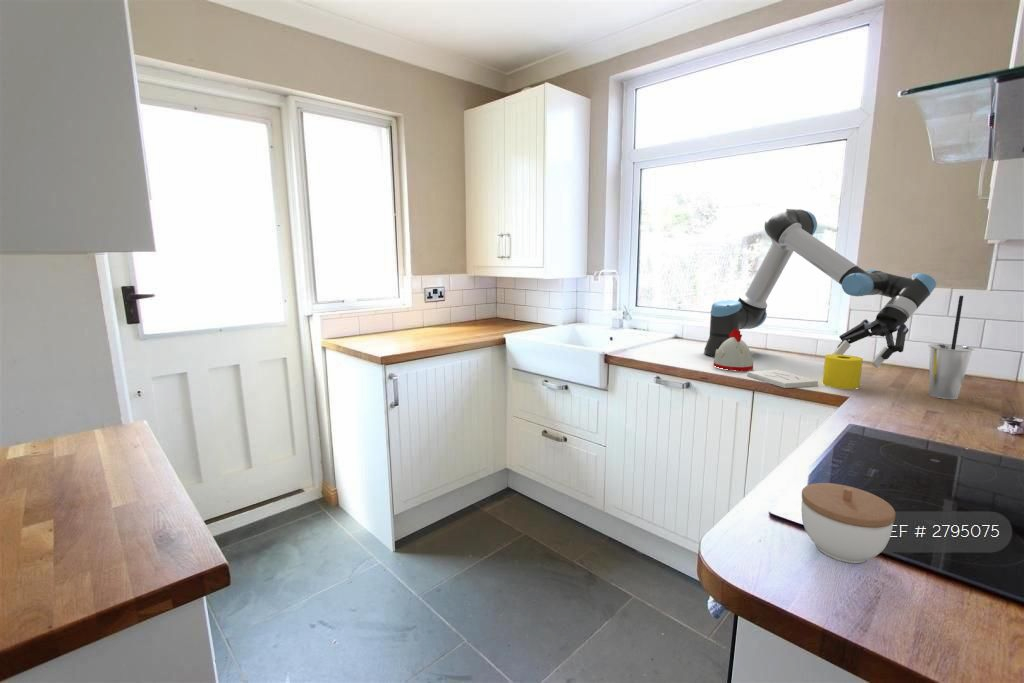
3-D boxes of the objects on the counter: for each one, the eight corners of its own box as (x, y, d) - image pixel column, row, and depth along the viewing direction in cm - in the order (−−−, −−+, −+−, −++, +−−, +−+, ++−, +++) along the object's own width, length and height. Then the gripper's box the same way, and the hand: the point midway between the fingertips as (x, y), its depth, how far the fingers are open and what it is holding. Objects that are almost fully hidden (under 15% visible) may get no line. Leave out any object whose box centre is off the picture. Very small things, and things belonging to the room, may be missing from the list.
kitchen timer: (723, 371, 175) (726, 332, 173) (707, 363, 189) (709, 326, 186) (760, 371, 176) (763, 331, 173) (741, 363, 189) (744, 326, 187)
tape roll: (865, 390, 149) (868, 361, 147) (829, 388, 151) (832, 359, 150) (850, 382, 158) (854, 355, 157) (817, 380, 161) (820, 353, 159)
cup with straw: (947, 391, 147) (961, 295, 141) (978, 402, 135) (996, 298, 130) (909, 390, 148) (923, 295, 143) (938, 401, 137) (953, 298, 131)
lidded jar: (788, 524, 74) (794, 468, 72) (868, 535, 71) (876, 477, 69) (809, 566, 64) (816, 502, 62) (904, 581, 61) (914, 514, 59)
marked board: (747, 375, 168) (747, 371, 168) (778, 373, 171) (778, 369, 171) (784, 388, 152) (784, 383, 152) (817, 385, 155) (818, 380, 154)
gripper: (942, 325, 143) (898, 376, 142) (864, 316, 167) (826, 360, 166) (931, 309, 141) (886, 360, 140) (854, 302, 165) (815, 346, 164)
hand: (853, 360), depth 153 cm, fingers open, 13 cm apart
